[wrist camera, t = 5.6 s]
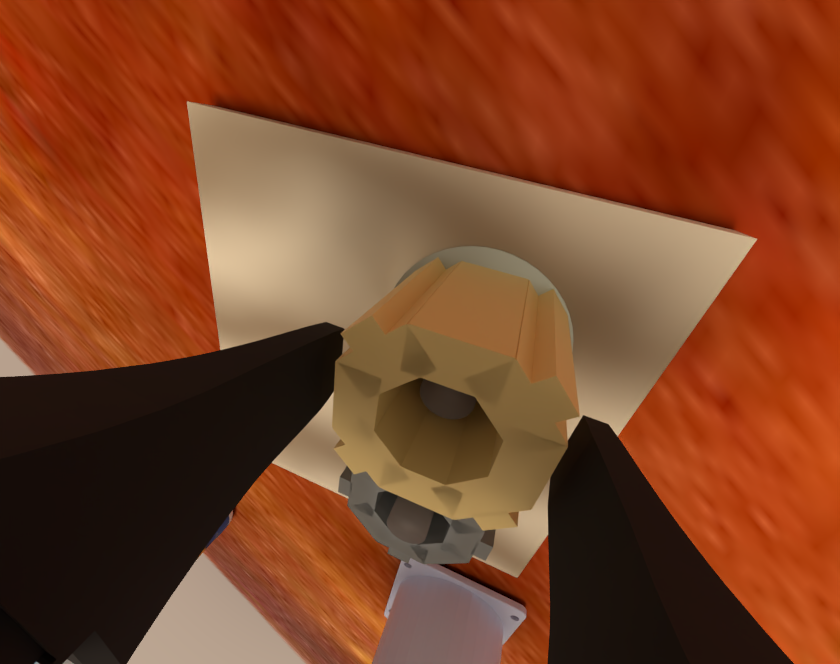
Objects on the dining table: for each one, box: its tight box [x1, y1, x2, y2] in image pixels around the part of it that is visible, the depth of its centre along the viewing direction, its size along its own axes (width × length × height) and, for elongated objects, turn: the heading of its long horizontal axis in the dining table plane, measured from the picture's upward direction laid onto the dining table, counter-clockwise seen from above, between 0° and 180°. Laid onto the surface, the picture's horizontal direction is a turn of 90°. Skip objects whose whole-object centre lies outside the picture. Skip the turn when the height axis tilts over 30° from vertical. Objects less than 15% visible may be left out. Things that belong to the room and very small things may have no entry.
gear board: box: [187, 102, 757, 578], centre depth 14 cm, size 18×18×5 cm
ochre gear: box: [332, 257, 580, 531], centre depth 10 cm, size 5×5×5 cm
